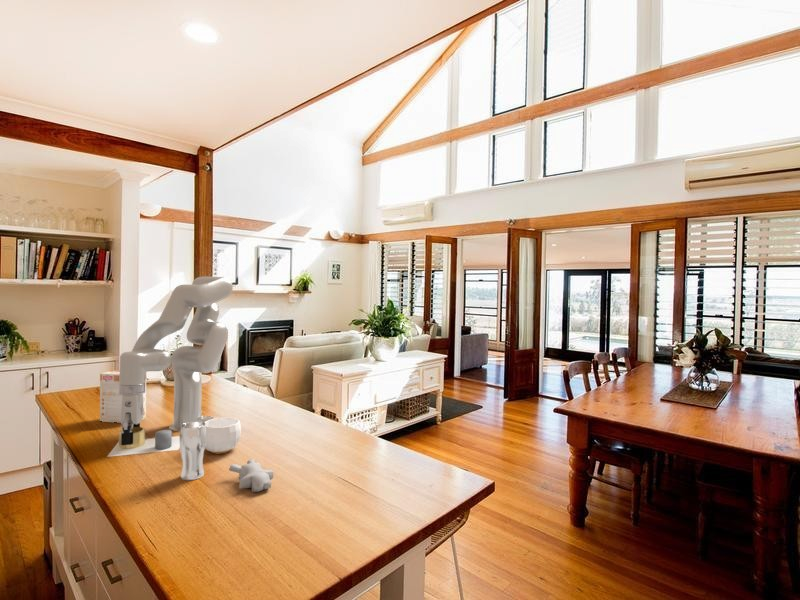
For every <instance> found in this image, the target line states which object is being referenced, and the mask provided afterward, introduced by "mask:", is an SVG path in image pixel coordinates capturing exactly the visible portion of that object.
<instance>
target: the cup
mask: <svg viewBox="0 0 800 600" xmlns="http://www.w3.org/2000/svg"><path fill="white" fill-rule="evenodd" d="M205 423H206V445H205V450H207V451H208V452H211V453H212V454H214V453H215V454H216V455H221V454H222V453H223V454H226V453H228V452H230V451H231V450H233V449H234V448H235V447H236V446H237V444H238V443H239V440H240V438H241V435H242V425H241V422H240V420H239V418H236V417H231V416H230V417H229V416H226V417H222V416H221V417H214V419H211V420H208V421H206V422H205Z"/></svg>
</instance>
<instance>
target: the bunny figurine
mask: <svg viewBox="0 0 800 600" xmlns="http://www.w3.org/2000/svg"><path fill="white" fill-rule="evenodd" d="M228 471H229V472H232V473H237V474H238V473H239V474H238V476H239V478H240V479H239V489H249V488H250V489H251V492H252V491H253V492H252V493H257V492H261V491H263V490H268V489H271V488H272V481H271V480H273V479H274V470H272V469H263V468H262V465H261V463H260V462H258V461H255V459H254V458H252V459H248V460H247V461H246V464H244V465H239V464H236V463H232V464H230V466H229V468H228Z"/></svg>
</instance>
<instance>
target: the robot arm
mask: <svg viewBox="0 0 800 600" xmlns="http://www.w3.org/2000/svg"><path fill="white" fill-rule="evenodd" d="M233 288H234V287H233V283H232V281H231V279H229V278H228V277H224V276H199V277H195V279H193V281H192V283H191V284H179V285H177V286H176V287H175V288H174V289H173V291H172V293H171V294H170V296H169V299H168V300H167V302H166V303H165V304H166V305H165V307H164V309H163V310H162V312H161V314H160V316H159V318H158V319H157V320H156V321H154V322H153V324H151V325H150V326H148V328H146V329H145V330H144V331H143V332H142V333H141V334H140V335H139V337H137V340H136V342H135V343H134V345H133V347H132V349H131V351H124V352H122V353H121V354H120V358H119V371H120V374H119V395H122V405H121V423H120V425H121V426H122V428H121V430H122V436H121V445H132V444H133V432H132V430H133V427H141V422H142V421H143V420H142V419H143V393H145V384H146V385H147V372H163V371H164V370H166V369H168V368H169V367H170V366H171V367H172V371H173V384H174V385H173V423H171V424H170V425H169V426H168V430H171V431H176V432H180V428H181V425H182V424H184V423H187V422H193V421H201V422H206V421H208V420H211V419H214V418H215V417H214V416H211V415H209V416H205V415H203V412H202V392H203V391H202V387H203V385H202V384H203V383H202V376H201V374H209V373H211V372H213V371H214V370H215V369H216V368H217V366H218V364H219V362H220V359H221V356H222V353H223V351H224V350H225V346H226V343H227V341H228V338H229V337H228V336H229V335H228V333H229V332H228V328H227V326H226V325H225V323H222V322H219V321H218V317H219V315H220V307H219V304H218V303H219V302H220V301H223V300H225V299H227V298H228V297H230V296H231V294H232V292H233ZM193 308H196V309H195V310H196V311H195V313H194V315H193V317H192V320H191V323H190V324H189V327H188V329H187V332H186V340H187V341H188V342H189V343H191V344H192V345H193V344H194V345H199V346H192V345H183V346H179V347H178V348H176V349H175V350H174V352H172V354H171V353H170V352H168V351H167V350H164V349H160V348H159V349H158V348H157V349H156V348H155V347H156V345H158V344H159V342H160V341H161V340H162V339H164V338H166V337H167V336H169V335H172V334H174V333H176V332H179V331H181V330H182V329H183V328H184V326H185V325H186V322H187V319H188V317H189V316H190V314H191V312H192V310H193ZM200 346H201V347H200ZM145 382H146V383H145ZM141 420H142V421H141ZM129 422H130V423H129Z"/></svg>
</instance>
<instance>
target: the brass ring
mask: <svg viewBox="0 0 800 600" xmlns="http://www.w3.org/2000/svg"><path fill="white" fill-rule="evenodd" d="M132 432H133V444H132V445H121V436H122V429H120V430H119V432H118V442H119V447H120V448H121V449H133V448H137V447H140V446H142V445H144V444H145V439H146V428H145V427H143V426H140V427H133V430H132Z"/></svg>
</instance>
